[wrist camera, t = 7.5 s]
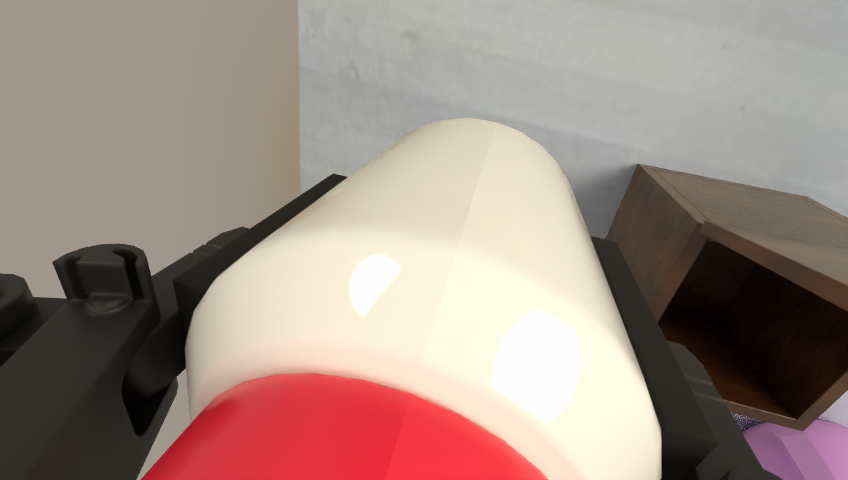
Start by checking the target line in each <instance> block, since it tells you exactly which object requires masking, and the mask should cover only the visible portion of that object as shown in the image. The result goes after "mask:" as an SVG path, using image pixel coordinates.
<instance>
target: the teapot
mask: <svg viewBox="0 0 848 480" xmlns="http://www.w3.org/2000/svg"><path fill="white" fill-rule="evenodd" d="M742 433H743V435H744V437H745V439H746V440H747V442H748V444H749V445H750V447H751V449H752V451H753V452H754V454H755V456H756V457H757V459H758V461H759V463H760V464H761V466H762V468H763V469H764V470H766V471H769V472H771V473H773V474H775V475H777V476H778V477H780V478H781V479H783V480H848V428H847V427H844V426H841V425H838V424H834V423H830V422H827V421H823V420H817V419H816V420H815V421H814V422H813V423H812V424H811V425H810V426H809V427H808V428H806V429H805V430H804V431H803V432H802V431H798V430H795V429H791V428H787V427H784V426H780V425H776V424H773V423H769V422H763V423H760V424H757V425H755V426H752V427H750V428H748V429H746V430H744V431H743V432H742Z"/></svg>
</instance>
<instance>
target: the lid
mask: <svg viewBox="0 0 848 480" xmlns="http://www.w3.org/2000/svg"><path fill="white" fill-rule="evenodd" d="M700 233H702V234H704V235H706V236H707V237H709V238H711V239H713V240H715V241H717V242H719V243H721V244H722V245H724V246H726V247H728V248H730V249H732V250H734V251H736V252H737V253H739V254H741V255H743V256H745V257H747V258H749V259H750V260H752V261H754V262H756V263H758V264H760V265H762V266H764V267H765V268H767V269H769V270H771V271H773V272H775V273H777V274H779V275H780V276H782V277H784V278H786V279H788V280H790V281H792V282H793V283H795V284H797V285H799V286H801V287H803V288H805V289H807V290H808V291H810V292H812V293H814V294H816V295H818V296H820V297H822V298H823V299H825V300H827V301H829V302H831V303H833V304H835V305H836V306H838V307H840V308H842V309H844V310H846V311H848V250H846V249H841V248H837V247H832V246H827V245H822V244H818V243H813V242H808V241H803V240H799V239H794V238H789V237H784V236H780V235H775V234H770V233H765V232H761V231H756V230H751V229H746V228H742V227H737V226H732V225H727V224H723V223H718V222H713V221H708V220H705V221H704V223H703V225H702V227H701V230H700Z"/></svg>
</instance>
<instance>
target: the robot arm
mask: <svg viewBox="0 0 848 480" xmlns="http://www.w3.org/2000/svg"><path fill="white" fill-rule="evenodd" d="M346 178H348V177H345V176H341V175H337V174H332V175H330V176H329V177H327V178H326V179H324V180H323V181H321V182H320V183H318V184H317V185H315V186H314V187H312V188H311V189H309V190H308V191H306V192H305V193H303V194H302V195H300V196H299V197H297V198H296V199H294V200H293V201H291V202H290V203H288V204H287V205H285V206H284V207H282V208H281V209H279V210H278V211H276V212H275V213H273V214H272V215H270V216H269V217H267V218H266V219H264V220H263V221H261V222H260V223H258V224H256V225H255V226H254V227H252V228H251V229H248V228H245V227H240V228H237V229H233V230H231V231H227V232H224V233H221V234H220V235H218V236H217V237H215V238H213V239H212V240H210V241H208V242H207V243H206V245H202V246H200V247H199V248H197V249H195V250H194V251H193V253H189V254H187V255H186V256H184V257H182V258H181V259H179V260H178V261H176V262H174V263H173V264H171V265H169V266H168V267H166V268H165V269H163V270H161V271H160V272H158V273H156V274H155V275H153V276H151V274H150V269H149V266H148V262H147V258H146V256H145V253H144V251H143V250H141V249H139V248H137V247H135V246H131V245H125V244H102V245H96V246H91V247H85V248H82V249H79V250H76V251H73V252H70V253H67V254H65V255H63V256H62V257H60V258H59V259H57V260H55V261H53V265H54V267H55V270H56V272H57V275H58V277H59V280H60V282H61V285H62V287H63V290H64V292H65V295H66V297H67V299H63V298H40V297H33V296H32V294H31V291H30V289H29V287H28V285H27V283H26V281H25V279H24V278H22V277H19V276H16V275H14V274H0V480H136V479H137V477H138V475H139V473H140V471H141V468H142V466H143V464H144V462H145V460H146V458H147V456H148V454H149V451H150V449H151V447H152V445H153V443H154V441H155V439H156V437H157V435H158V432H159V430H160V428H161V426H162V424H163V422H164V420H165V417H166V415H167V413H168V411H169V409H170V407H171V405H172V403H173V401H174V398H175V396H176V394H177V389H178V382H177V378H176V377H177V376H178V375H179V374H180V373H181V372H182V371H183V370H184V369H185V368H186V365H185V343H186V337H187V334H188V330H189V326H190V323H191V319H192V315H193V312H194V310H195V309H196V307H197V306H198V304H199V303H200V301H201V300H202V298H203V297H204V295H205V294H206V292H207V291H208V289H209V288H210V286H211V285H212V283H213V282H214V280H215V279H216V277H217V276H219V275H220V274H221V273H222V272H224V271H225V270H226V269H227V268H228V267H230V266H231V265H232V264H233V263H235V262H236V261H237V260H238V259H240V258H241V257H242V256H243V255H245V254H246V253H247V252H248V251H250V250H251V249H252V248H253V247H255V246H256V245H257V244H259V243H260V242H261V241H263V240H264V239H265V238H267V237H268V236H269V235H271V234H272V233H273V232H275V231H276V230H278V229H279V228H280V227H282V226H283V225H284V224H286V223H287V222H288V221H290V220H291V219H292V218H294V217H295V216H296V215H298V214H299V213H300V212H302V211H303V210H304V209H306V208H307V207H308V206H310V205H311V204H313V203H314V202H315V201H317V200H318V199H319V198H321V197H322V196H323V195H325V194H326V193H327V192H329V191H330V190H331V189H333V188H334V187H335V186H337V185H338V184H339V183H341V182H342V181H344V180H345V179H346ZM591 240H592V243H593V245H594V248H595V251H596V253H597V256H598V258H599V261H600V264H601V266H602V269H603V272H604V274H605V277H606V280H607V282H608V285H609V287H610V290H611V293H612V295H613V298H614V301H615V303H616V306H617V308H618V311H619V314H620V316H621V319H622V322H623V324H624V327H625V329H626V332H627V335H628V337H629V340H630V343H631V345H632V348H633V350H634V353H635V356H636V358H637V361H638V364H639V366H640V369H641V372H642V374H643V377H644V380H645V383H646V386H647V389H648V392H649V395H650V398H651V401H652V404H653V407H654V410H655V413H656V416H657V419H658V422H659V425H660V428H661V480H783V479H781V478H780V477H778V476H777V475H775V474H773V473H771V472H769V471H766V470H764V469H763V468H762V466H761V464H760V463H759V461H758V459H757V457H756V456H755V454H754V452H753V451H752V449H751V447H750V445H749V444H748V442H747V440H746V439H745V437H744V435H743V433H742V432H741V430H740V428H739V427H738V425H737V423H736V421H735V420H734V418H733V416H732V414H731V413H730V411H729V409H728V408H727V406H726V404H723V403H722V401H723V399H722V397H721V396H720V394H719V392H718V390H717V389H716V387H713V382H712V380H711V378H710V377H709V375H708V373H707V372H706V370H705V368H704V366H703V365H702V363H701V362H700V361H699V360H698V359H697V358H696V357H695V356H694V355H693V354H692V353H691V352H690V351H689V350H688V349H687V348H686V347H685V346H684V345H682V344H679V343H675V342H671V341H667V340H666V338H665V336H664V334H663V332H662V330H661V328H660V327H659V325H658V323H657V321H656V319H655V317H654V315H653V313H652V311H651V309H650V307H649V305H648V303H647V301H646V299H645V297H644V295H643V293H642V291H641V289H640V287H639V285H638V283H637V281H636V279H635V277H634V275H633V273H632V271H631V269H630V267H629V265H628V264H627V262H626V260H625V258H624V256H623V254H622V252H621V250H620V248H619V246H618V244H617V242H612V241H608V240H604V239H600V238H596V237H592V236H591Z"/></svg>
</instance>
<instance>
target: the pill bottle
mask: <svg viewBox="0 0 848 480" xmlns="http://www.w3.org/2000/svg"><path fill="white" fill-rule="evenodd" d="M185 365H186V386H187V397H188V411H189V424H190V425H189V426H188V427H187V428H186V429H185V430H184V432H183V433H182V434H181V435H180V436H179V437H178V438H177V439H176V441H175V442H174V443H173V444H172V445H171V446H170V447H169V449H168V450H167V451H166V452H165V453H164V454H163V455H162V456H161V458H160V459H159V460H158V461H157V462H156V463H155V464H154V465H153V466H152V468H151V469H150V470H149V471H148V472H147V473H146V475H144V477H143V478H142V479H141V480H661V428H660V425H659V422H658V419H657V416H656V413H655V410H654V407H653V404H652V401H651V398H650V395H649V392H648V389H647V386H646V383H645V380H644V377H643V374H642V372H641V369H640V366H639V364H638V361H637V358H636V356H635V353H634V350H633V348H632V345H631V343H630V340H629V337H628V335H627V332H626V329H625V327H624V324H623V322H622V319H621V316H620V314H619V311H618V308H617V306H616V303H615V301H614V298H613V295H612V293H611V290H610V287H609V285H608V282H607V280H606V277H605V274H604V272H603V269H602V266H601V264H600V261H599V258H598V256H597V253H596V251H595V248H594V245H593V243H592V240H591V237H590V235H589V232H588V230H587V227H586V224H585V222H584V219H583V216H582V214H581V211H580V209H579V206H578V203H577V201H576V198H575V195H574V193H573V190H572V188H571V185H570V182H569V181H568V179H567V177H566V176H565V174H564V173H563V171H562V169H561V168H560V166H559V165H558V163H557V162H556V160H555V159H554V158H553V157H552V156H551V155H550V154H549V153H548V152H547V151H546V150H545V149H544V148H543V147H542V146H541V145H540V144H538V143H537V142H535V141H534V140H532V139H530V138H529V137H527V136H526V135H524V134H523V133H521V132H520V131H517V130H515V129H512V128H510V127H507V126H505V125H502V124H500V123H497V122H492V121H486V120H480V119H474V118H465V119H447V120H443V121H439V122H435V123H431V124H427V125H424V126H422V127H420V128H418V129H416V130H414V131H412V132H410V133H408V134H406V135H404V136H403V137H401V138H400V139H399V140H397V141H396V142H395V143H393V144H392V145H391V146H389V147H388V148H387V149H385V150H384V151H383V152H381V153H380V154H379V155H377V156H376V157H374V158H373V159H372V160H370V161H369V162H368V163H366V164H365V165H364V166H362V167H361V168H360V169H358V170H357V171H356V172H354V173H353V174H352V175H350V176H349V177H348V178H346V179H345V180H344V181H342V182H341V183H339V184H338V185H337V186H335V187H334V188H333V189H331V190H330V191H329V192H327V193H326V194H325V195H323V196H322V197H321V198H319V199H318V200H317V201H315V202H314V203H313V204H311V205H310V206H308V207H307V208H306V209H304V210H303V211H302V212H300V213H299V214H298V215H296V216H295V217H294V218H292V219H291V220H290V221H288V222H287V223H286V224H284V225H283V226H282V227H280V228H279V229H278V230H276V231H275V232H273V233H272V234H271V235H269V236H268V237H267V238H265V239H264V240H263V241H261V242H260V243H259V244H257V245H256V246H255V247H253V248H252V249H251V250H250V251H248V252H247V253H246V254H245V255H243V256H242V257H241V258H240V259H238V260H237V261H236V262H235V263H233V264H232V265H231V266H230V267H228V268H227V269H226V270H225V271H224V272H222V273H221V274H220V275H219V276H217V277H216V279H215V280H214V282H213V283H212V285H211V286H210V288H209V289H208V291H207V292H206V294H205V295H204V297H203V298H202V300H201V301H200V303H199V304H198V306H197V307H196V309H195V310H194V312H193V315H192V319H191V323H190V326H189V330H188V334H187V337H186V343H185Z"/></svg>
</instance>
